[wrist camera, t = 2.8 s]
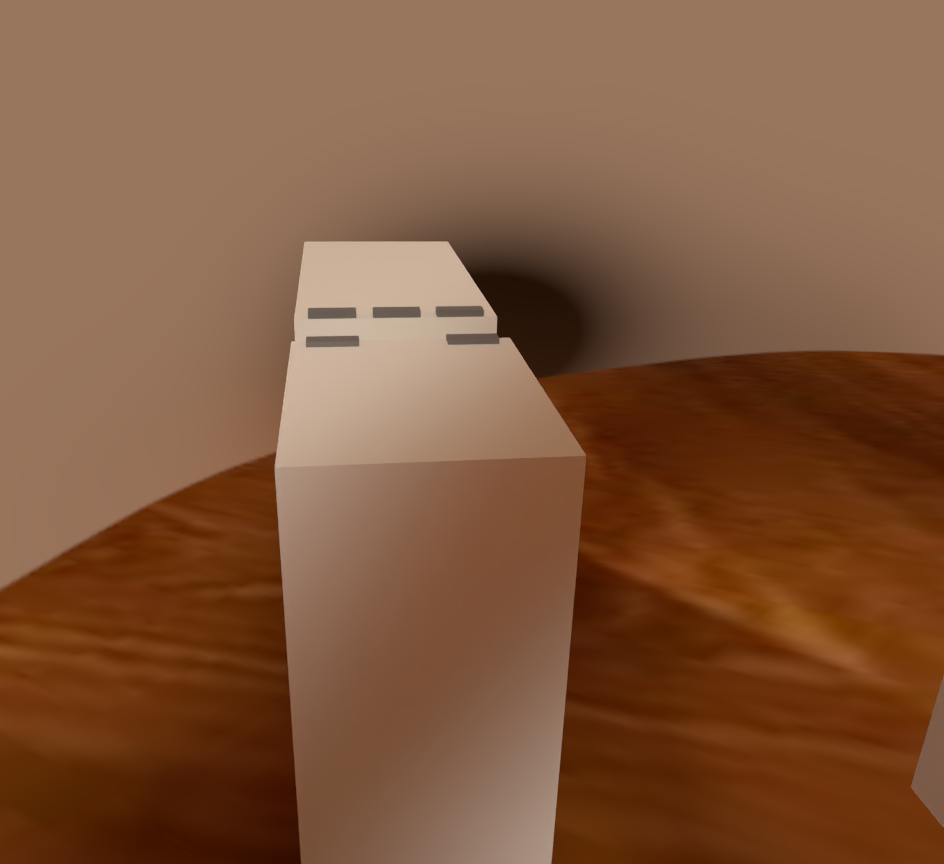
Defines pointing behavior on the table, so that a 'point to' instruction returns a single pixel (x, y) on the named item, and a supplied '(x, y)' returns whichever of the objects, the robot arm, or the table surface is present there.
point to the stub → (425, 598)
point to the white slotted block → (388, 292)
